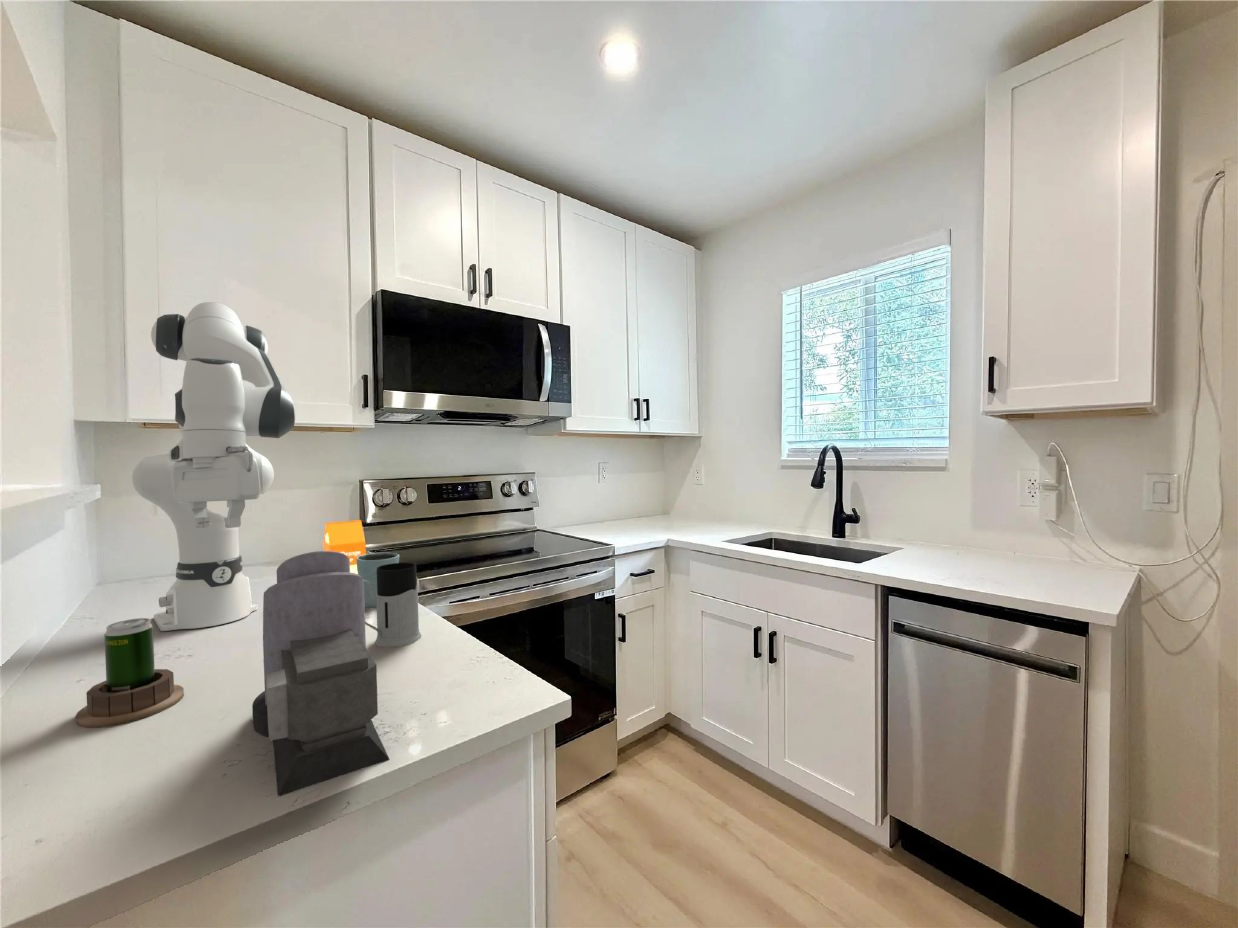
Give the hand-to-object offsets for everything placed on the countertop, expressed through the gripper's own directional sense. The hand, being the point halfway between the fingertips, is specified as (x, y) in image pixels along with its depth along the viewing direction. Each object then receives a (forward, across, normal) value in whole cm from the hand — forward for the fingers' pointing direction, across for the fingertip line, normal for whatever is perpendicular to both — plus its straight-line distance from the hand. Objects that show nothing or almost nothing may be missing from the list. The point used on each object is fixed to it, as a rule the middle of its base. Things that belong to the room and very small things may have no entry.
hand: (217, 527), depth 91 cm
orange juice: (+23, +27, -44) cm, 57 cm away
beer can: (+26, 0, +12) cm, 28 cm away
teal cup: (+24, +12, -43) cm, 50 cm away
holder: (+26, -14, -23) cm, 37 cm away
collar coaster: (+26, 0, +12) cm, 29 cm away
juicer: (+28, -32, +3) cm, 42 cm away
